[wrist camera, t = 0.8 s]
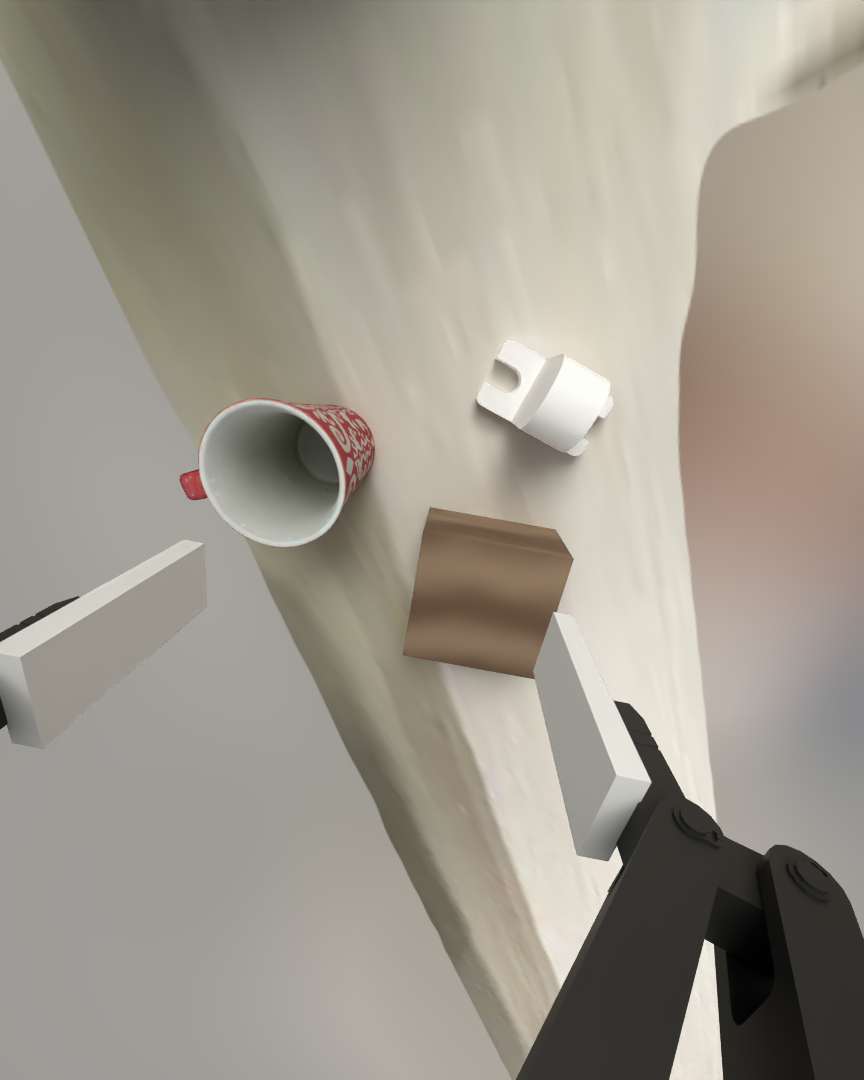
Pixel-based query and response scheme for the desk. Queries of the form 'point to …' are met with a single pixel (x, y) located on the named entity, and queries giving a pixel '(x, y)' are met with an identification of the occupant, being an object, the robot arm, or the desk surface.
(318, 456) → the mug
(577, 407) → the cable organizer
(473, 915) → the desk surface
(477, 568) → the walnut block
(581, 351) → the desk surface
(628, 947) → the robot arm
